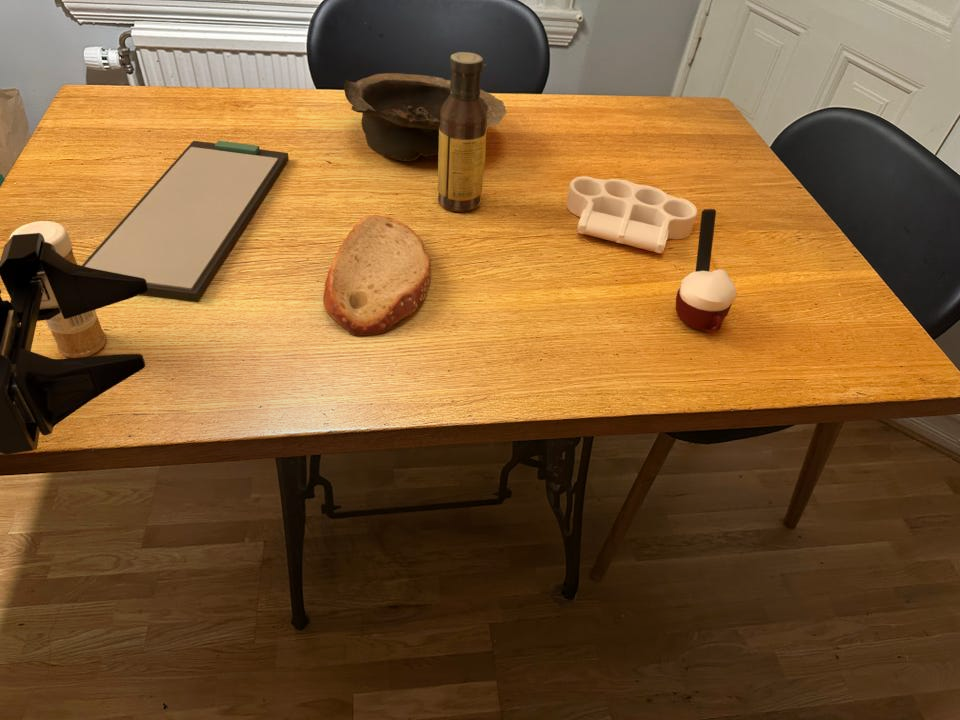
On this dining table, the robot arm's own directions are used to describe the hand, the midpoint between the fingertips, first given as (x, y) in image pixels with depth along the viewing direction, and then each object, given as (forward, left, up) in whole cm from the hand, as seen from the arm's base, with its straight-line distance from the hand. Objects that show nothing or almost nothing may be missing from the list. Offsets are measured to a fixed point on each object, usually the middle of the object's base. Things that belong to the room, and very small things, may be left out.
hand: (145, 320), depth 54 cm
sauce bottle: (+37, +36, -14) cm, 53 cm away
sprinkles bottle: (-9, +15, -14) cm, 23 cm away
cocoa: (+58, +6, -14) cm, 60 cm away
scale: (+2, +38, -14) cm, 41 cm away
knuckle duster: (+59, +27, -14) cm, 66 cm away
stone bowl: (+37, +55, -14) cm, 68 cm away
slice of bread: (+22, +21, -14) cm, 33 cm away
